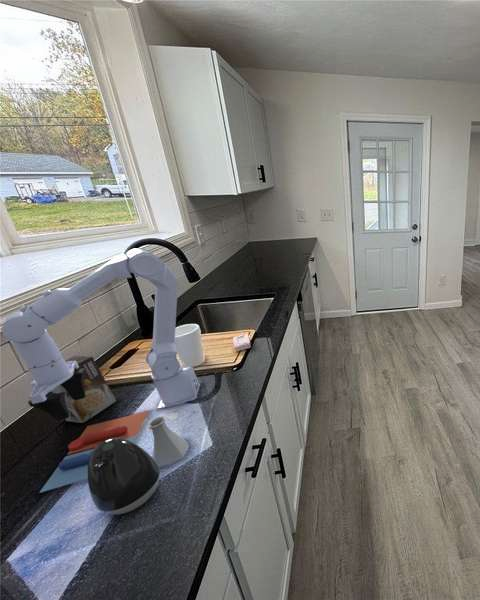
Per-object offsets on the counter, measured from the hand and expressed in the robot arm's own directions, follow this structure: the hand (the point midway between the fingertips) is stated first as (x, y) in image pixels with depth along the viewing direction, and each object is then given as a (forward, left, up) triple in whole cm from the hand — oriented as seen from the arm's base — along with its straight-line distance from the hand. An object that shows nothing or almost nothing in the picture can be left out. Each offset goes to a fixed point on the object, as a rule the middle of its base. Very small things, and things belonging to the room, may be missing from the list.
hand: (72, 408), depth 77 cm
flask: (-22, +16, -10) cm, 29 cm away
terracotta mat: (-5, +1, -9) cm, 11 cm away
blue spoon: (-5, +10, -9) cm, 15 cm away
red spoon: (-4, +3, -9) cm, 10 cm away
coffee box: (+4, -12, -10) cm, 16 cm away
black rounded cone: (-18, +26, -10) cm, 33 cm away
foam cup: (-19, -28, -10) cm, 35 cm away
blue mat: (-5, +11, -9) cm, 15 cm away
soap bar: (-34, -33, -8) cm, 48 cm away
